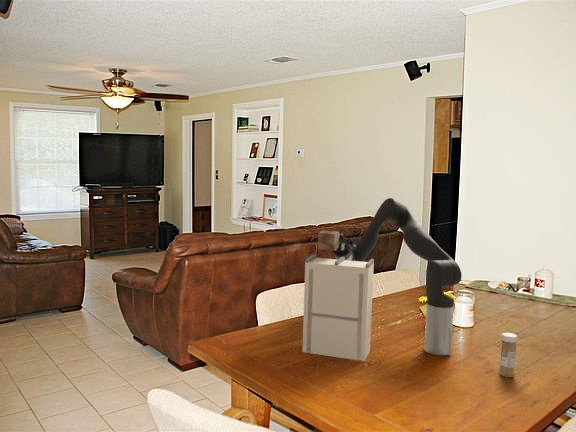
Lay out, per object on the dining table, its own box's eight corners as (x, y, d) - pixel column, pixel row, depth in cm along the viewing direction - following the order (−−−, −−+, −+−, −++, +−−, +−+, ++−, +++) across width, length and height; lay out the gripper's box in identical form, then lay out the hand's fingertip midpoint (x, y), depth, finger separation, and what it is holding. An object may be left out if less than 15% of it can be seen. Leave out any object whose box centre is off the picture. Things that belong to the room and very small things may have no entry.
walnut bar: (346, 242, 203) (346, 227, 203) (334, 250, 183) (334, 233, 182) (331, 241, 205) (332, 226, 204) (317, 249, 185) (318, 232, 184)
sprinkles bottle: (496, 372, 167) (499, 332, 165) (509, 372, 167) (512, 332, 166) (503, 378, 162) (506, 336, 161) (517, 377, 163) (520, 336, 161)
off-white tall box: (369, 350, 183) (374, 259, 180) (364, 361, 173) (368, 264, 170) (310, 342, 190) (313, 254, 187) (302, 352, 180) (305, 259, 177)
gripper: (327, 242, 216) (319, 226, 201) (360, 244, 211) (354, 228, 196) (325, 259, 213) (316, 244, 198) (358, 262, 209) (352, 246, 194)
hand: (335, 236), depth 197 cm, fingers closed on walnut bar, 3 cm apart
